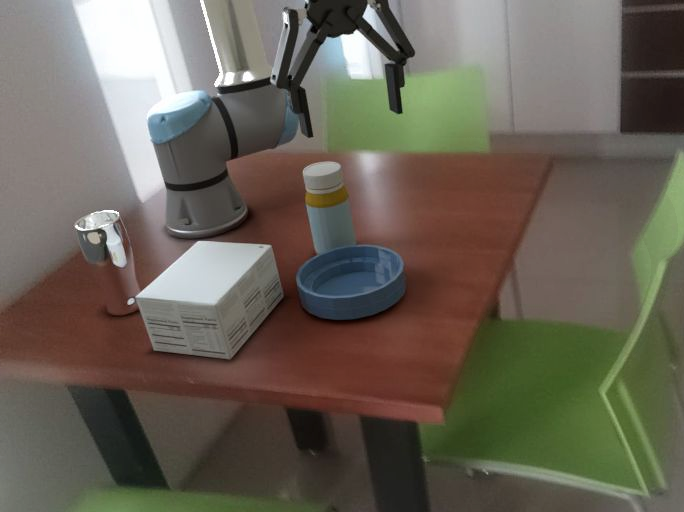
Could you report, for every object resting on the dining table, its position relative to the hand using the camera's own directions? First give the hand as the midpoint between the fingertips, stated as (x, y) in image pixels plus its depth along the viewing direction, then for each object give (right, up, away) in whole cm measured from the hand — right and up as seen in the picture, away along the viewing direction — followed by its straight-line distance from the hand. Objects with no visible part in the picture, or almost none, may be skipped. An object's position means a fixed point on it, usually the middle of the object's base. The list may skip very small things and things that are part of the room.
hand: (352, 123), depth 110 cm
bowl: (-1, -24, +11) cm, 26 cm away
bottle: (-5, -16, +24) cm, 29 cm away
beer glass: (-37, -25, +15) cm, 48 cm away
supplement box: (-20, -28, +8) cm, 36 cm away
